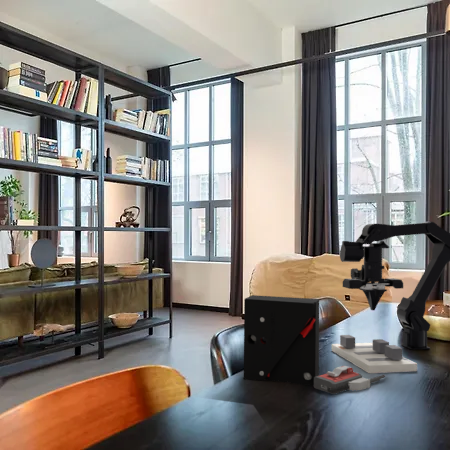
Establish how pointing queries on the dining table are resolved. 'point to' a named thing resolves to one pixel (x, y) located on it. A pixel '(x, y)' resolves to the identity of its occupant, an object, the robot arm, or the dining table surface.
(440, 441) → the dining table surface
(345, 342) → the grey plastic block
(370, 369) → the switch board
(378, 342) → the grey block
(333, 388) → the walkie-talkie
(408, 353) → the dining table surface
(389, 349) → the grey squarish block
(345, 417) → the dining table surface
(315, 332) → the electrical component
